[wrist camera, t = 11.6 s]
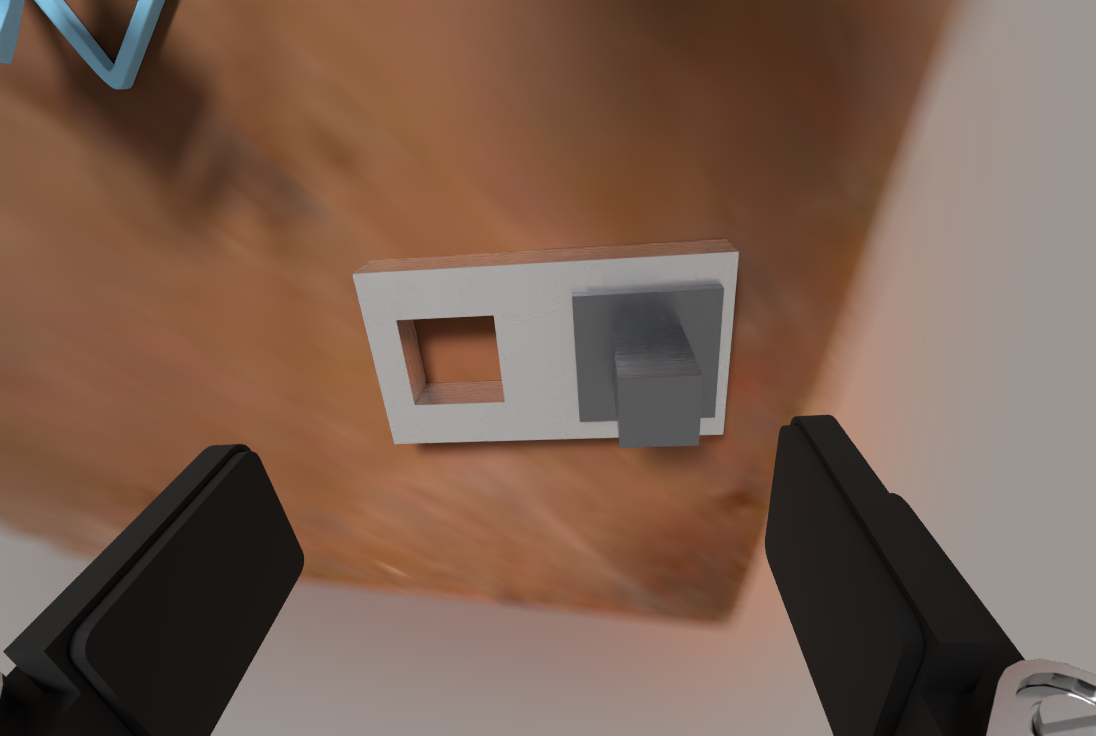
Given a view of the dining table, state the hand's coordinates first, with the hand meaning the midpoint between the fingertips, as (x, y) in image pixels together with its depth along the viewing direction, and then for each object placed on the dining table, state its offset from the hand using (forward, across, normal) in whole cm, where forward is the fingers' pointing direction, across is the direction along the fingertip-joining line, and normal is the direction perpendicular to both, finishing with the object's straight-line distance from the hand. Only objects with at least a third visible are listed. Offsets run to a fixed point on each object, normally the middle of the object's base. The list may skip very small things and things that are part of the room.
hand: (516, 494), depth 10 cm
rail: (+25, +2, +9) cm, 26 cm away
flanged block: (+24, -4, +9) cm, 26 cm away
